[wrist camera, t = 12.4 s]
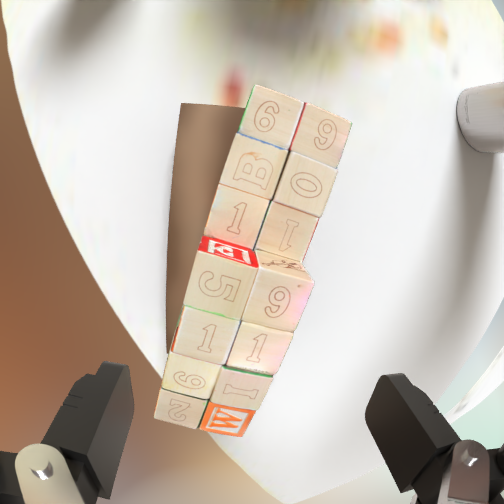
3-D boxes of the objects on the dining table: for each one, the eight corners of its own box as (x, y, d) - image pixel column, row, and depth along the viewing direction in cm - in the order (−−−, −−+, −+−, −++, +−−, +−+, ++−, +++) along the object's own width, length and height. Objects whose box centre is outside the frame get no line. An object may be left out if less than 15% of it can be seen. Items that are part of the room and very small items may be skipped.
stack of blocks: (245, 111, 24) (261, 63, 12) (313, 136, 25) (380, 115, 13) (175, 330, 29) (151, 421, 17) (235, 347, 30) (242, 441, 18)
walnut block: (305, 127, 29) (319, 120, 24) (274, 337, 35) (281, 361, 30) (188, 113, 28) (181, 103, 23) (173, 329, 34) (166, 353, 29)
